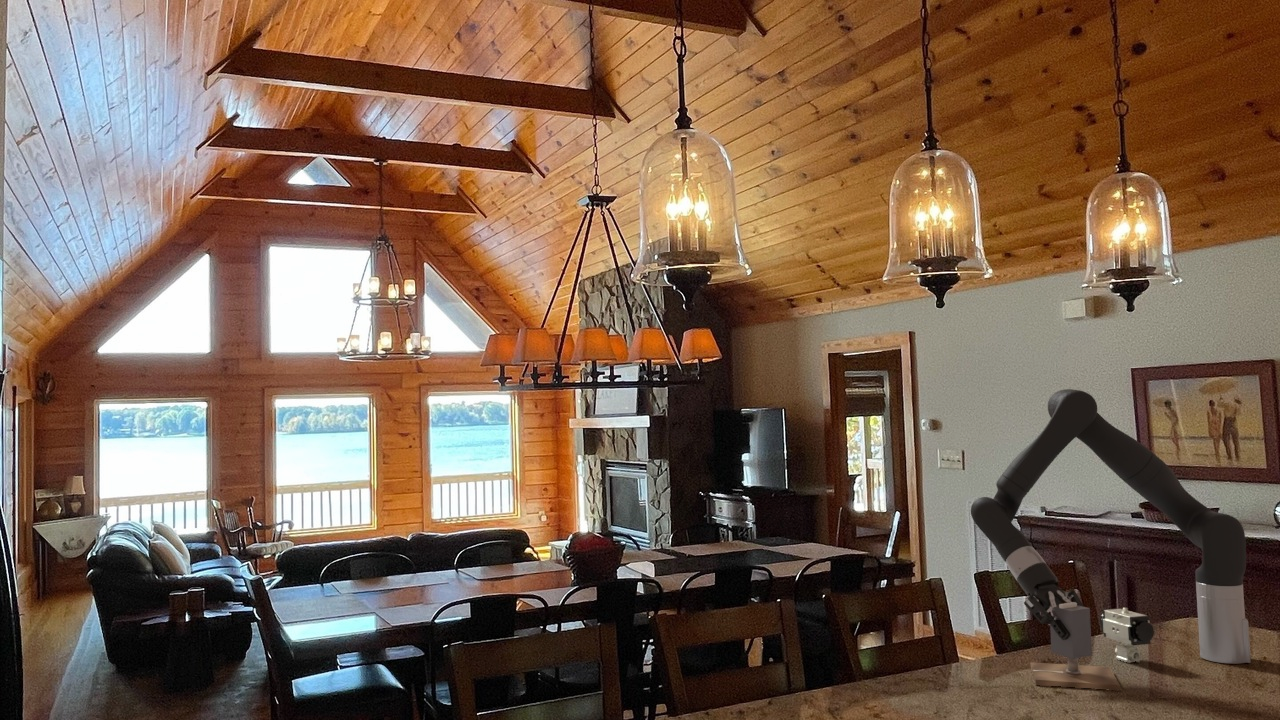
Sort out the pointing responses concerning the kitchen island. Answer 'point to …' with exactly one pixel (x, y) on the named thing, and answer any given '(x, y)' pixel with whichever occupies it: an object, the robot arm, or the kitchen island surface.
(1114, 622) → the pneumatic valve
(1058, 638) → the grey rectangular block
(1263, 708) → the kitchen island surface
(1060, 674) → the panel
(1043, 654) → the kitchen island surface
